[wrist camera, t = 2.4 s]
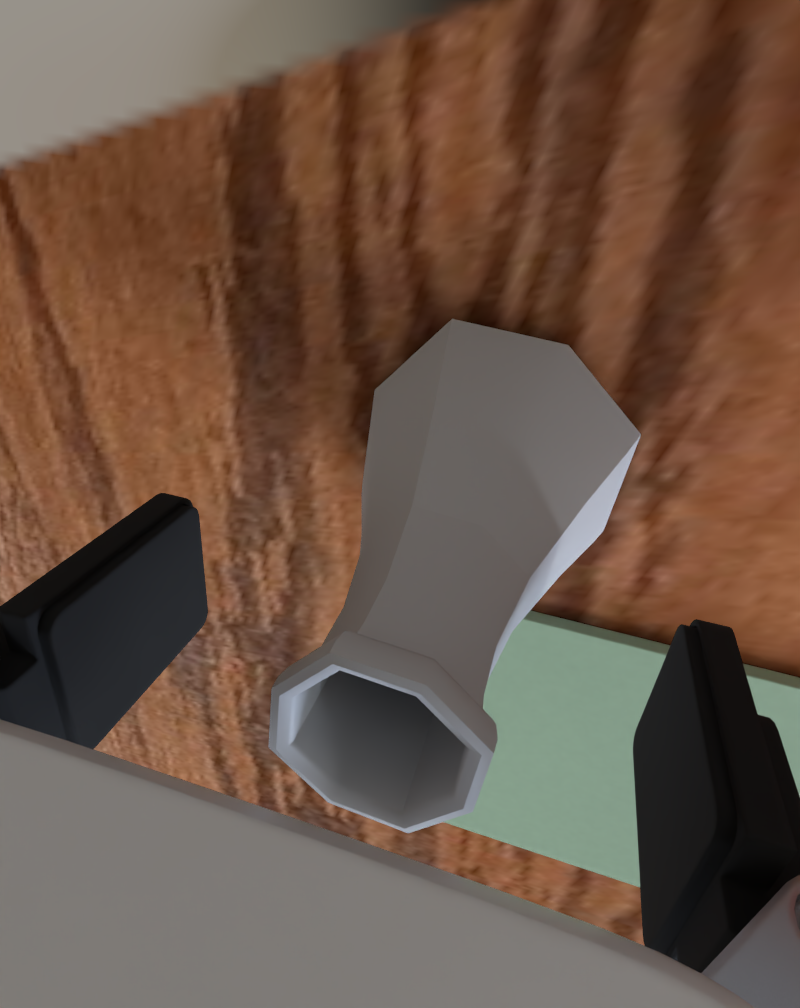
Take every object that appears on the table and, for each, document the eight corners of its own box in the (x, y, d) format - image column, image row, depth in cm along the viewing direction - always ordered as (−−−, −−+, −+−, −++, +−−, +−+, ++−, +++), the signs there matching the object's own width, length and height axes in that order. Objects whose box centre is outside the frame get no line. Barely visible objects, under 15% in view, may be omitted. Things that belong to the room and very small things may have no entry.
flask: (440, 263, 15) (214, 393, 6) (697, 420, 15) (819, 764, 6) (328, 483, 18) (98, 745, 10) (530, 607, 18) (466, 971, 10)
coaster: (473, 595, 19) (470, 605, 18) (864, 693, 17) (871, 706, 16) (434, 807, 24) (431, 818, 24) (723, 902, 22) (726, 916, 22)
